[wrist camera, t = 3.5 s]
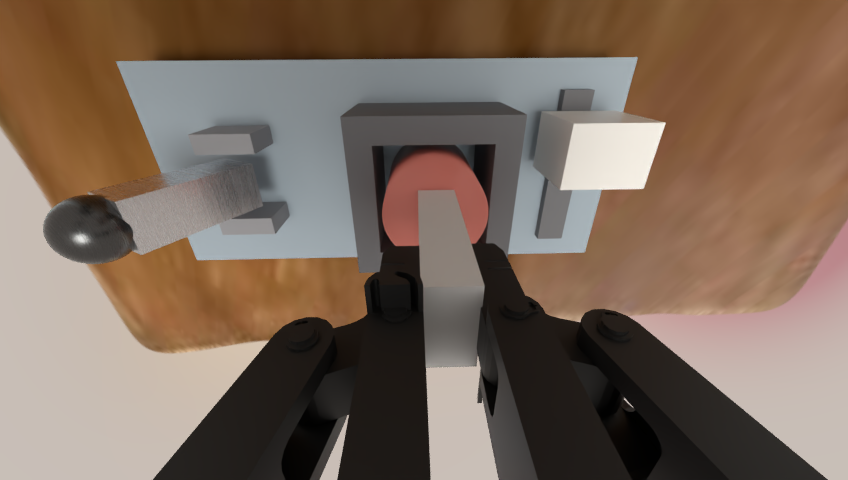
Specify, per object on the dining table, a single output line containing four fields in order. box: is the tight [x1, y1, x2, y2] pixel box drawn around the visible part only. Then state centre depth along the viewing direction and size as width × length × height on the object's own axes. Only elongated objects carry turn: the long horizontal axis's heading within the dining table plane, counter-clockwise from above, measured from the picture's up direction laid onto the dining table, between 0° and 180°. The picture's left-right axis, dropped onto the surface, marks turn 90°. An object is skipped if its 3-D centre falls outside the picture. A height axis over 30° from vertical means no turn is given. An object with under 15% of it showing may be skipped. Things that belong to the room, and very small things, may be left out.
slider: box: [533, 110, 665, 190], centre depth 16 cm, size 3×4×4 cm
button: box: [382, 145, 488, 246], centre depth 16 cm, size 5×5×6 cm
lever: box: [43, 159, 263, 264], centre depth 15 cm, size 3×3×8 cm
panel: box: [116, 57, 638, 273], centre depth 19 cm, size 12×27×8 cm, turn 90°
